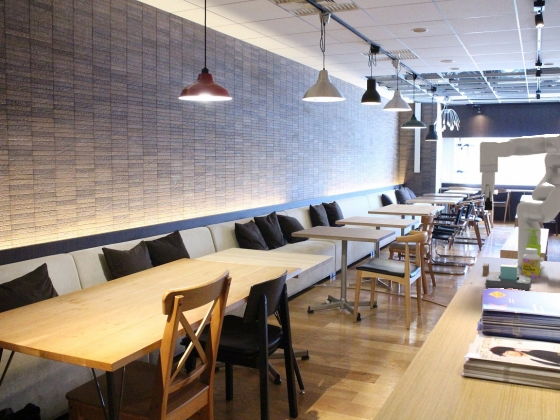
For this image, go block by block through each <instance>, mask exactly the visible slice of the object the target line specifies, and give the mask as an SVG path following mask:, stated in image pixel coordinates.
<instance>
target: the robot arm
mask: <svg viewBox="0 0 560 420" xmlns="http://www.w3.org/2000/svg"><path fill="white" fill-rule="evenodd" d="M541 154H545V156H544V167H545V174H544V176H543V177H542V179H541V180H540V181H539V183H538V184H537V186H536V187H535V188H534V190H533V191H532V193H531V199H532V200H531V199H527V200H521V201H520V202H519V203H518V204H517V206H516V216H517V222H518V227H517V228H518V233H517V234H518V235H517V262H515V263H514V264H513V265H517V269H518V268H521V269H522V262H523V255H524V254H526V251H525V249H526V244H529V238H530V237H531V236H532V231H524V230H526V229H536V230H538V231H536V236H537V237H538V244H539V245H541V240H542V239H541V236H542V230H541V226H540V223H550V222H552V221H554V219H555V218H556V217H557V216H558V215H559V213H560V133H557V134H555V133H554V134H541V135H540V134H539V135H531V136H529V135H528V136H521V137H513V138H508V139H506V138H505V139H498V140H485V141H481V142H480V144H479V173H482V174H481V183H480V184H481V186H480V187H481V189H480V194H481V195H484V204H483V205H484V211H493V195H494V193H495V186H496V185H495V184H496V173H498V172H499V158H508V157H512V156H517V157H519V156H531V155H541ZM543 262H545V258H544V257H541V259H540V270H543V269H544V265H543V264H541V263H543Z"/></svg>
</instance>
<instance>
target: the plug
mask: <svg viewBox="0 0 560 420" xmlns="http://www.w3.org/2000/svg"><path fill="white" fill-rule="evenodd" d="M517 275H518V267H517V265H514V264H500V279H510V280H517Z"/></svg>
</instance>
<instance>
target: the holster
mask: <svg viewBox="0 0 560 420" xmlns="http://www.w3.org/2000/svg"><path fill="white" fill-rule="evenodd" d="M489 273H497V274H500V273H501V271H500V272H499V271H498V272H497V271H490V263H483V265H482V272H481V274H480V276H481V277H488V275H489Z"/></svg>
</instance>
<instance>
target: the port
mask: <svg viewBox="0 0 560 420" xmlns="http://www.w3.org/2000/svg"><path fill="white" fill-rule="evenodd" d="M531 283H532V278H531V276H523V275H522V274H521V275H520V274H517V280H510V279H500V274H497V273H489V275H488V276H486V279H485V288H490V289H500V288H513V289H521V290H520V291H523V290H530V291H531Z"/></svg>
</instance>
